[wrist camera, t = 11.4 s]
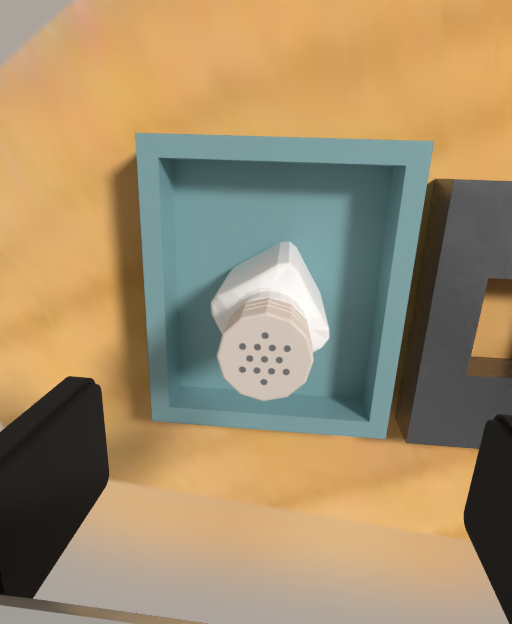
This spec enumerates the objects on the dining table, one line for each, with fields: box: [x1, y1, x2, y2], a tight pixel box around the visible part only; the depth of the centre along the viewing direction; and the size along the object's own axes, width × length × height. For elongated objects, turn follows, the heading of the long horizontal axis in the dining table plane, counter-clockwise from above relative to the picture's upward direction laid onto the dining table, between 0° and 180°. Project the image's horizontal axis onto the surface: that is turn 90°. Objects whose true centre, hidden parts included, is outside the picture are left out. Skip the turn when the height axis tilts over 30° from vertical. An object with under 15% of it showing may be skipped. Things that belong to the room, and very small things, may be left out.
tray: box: [135, 133, 434, 439], centre depth 21 cm, size 13×15×3 cm
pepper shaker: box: [211, 241, 329, 401], centre depth 18 cm, size 4×4×10 cm
